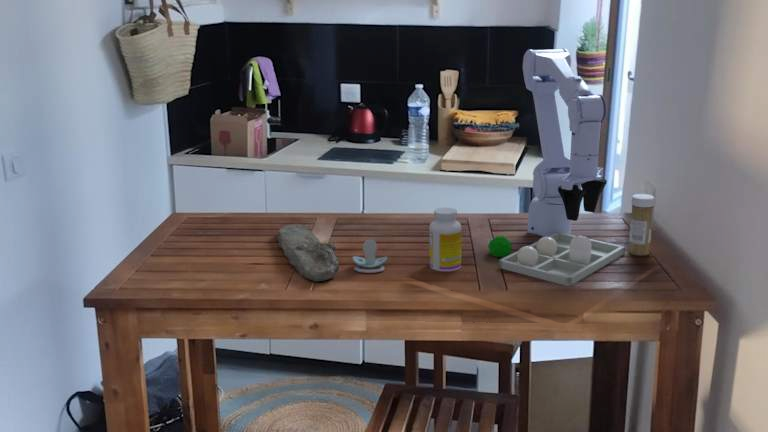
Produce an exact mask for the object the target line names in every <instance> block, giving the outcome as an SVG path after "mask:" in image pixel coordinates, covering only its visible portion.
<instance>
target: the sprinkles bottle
mask: <svg viewBox="0 0 768 432" xmlns="http://www.w3.org/2000/svg"><path fill="white" fill-rule="evenodd" d="M654 206H655V197H654V195H651V194H648V193H636V194H633V195H632V196H631V216H630V225H629V226H630V227H629V240H628V241H629V242H628V243H629V244H628V253H629V254H631V255H633V256H648V255H649V254H650V250H651V249H650V248H651V247H650V246H651V241H652V223H653V210H654V209H653V208H654Z"/></svg>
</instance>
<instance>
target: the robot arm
mask: <svg viewBox="0 0 768 432" xmlns="http://www.w3.org/2000/svg"><path fill="white" fill-rule="evenodd" d="M571 67H572V58H571V54H570V52H569V50H568V49H567V48H560V49H559V48H558V49H553V48H552V49H527V50H526V51H525V53H524V55H523V59H522V72H523V78H524V79H523V80H524V83H525V88H526V89H527V90H528V91H530V92H532V97H533V103H534V108H535V115H536V121H537V129H538V135H539V141H540V147H541V155H542V160H541V162H539V163H538V164H537V165H536V166H534V169H533V171H532V176H533V181H532V187H533V188H532V189H533V193H534V196H535V197H533V198H532V200H531V201H530V203H529V206H528V214H527V215H528V217H527V218H528V220H527V233H529V234H533V235H538V236H541V237H542V238H543V237H548V236H550V235H552V234H554V233H556V232H560V233H565V234H569V235H571V232H572V231H571V228H572V221H575V222H576V221H578V219H579V216H580V215H579V214H580V212H581V211H580V209H581V204H583V205H582V206H583V210H584V212H587V213H592V214H593V213H595V211H596V208H597V205H598V201H599V198H600V196H601V193H602V192H603V190H604V189H605V187H606V185H607V182H608V181H607V180H608V179H606V178H604V167H600V166H599V154H600V139H601V125H602V124H603V122H605V121H606V118H607V111H608V106H607V102H606V99H605V97H604V95H603V94H600V93H599V94H597V93H593V91H592V90H591V89H590V87H589V86H588V84H587V82H585V80H584V79H583V78H582V77H581V76H580V75H578V76H577V75H575V74H574V72H573V70H572V68H571ZM557 91H558V93H559V96H560V97H561V99H562V100H563V101H564V103H565V105H566V106H567V116H568V121H569V127H568V128H569V131H570V132H571V136H570V137H571V138H570V140H571V141H570V153H569V154H570V155H569V157H570V158H568V157H566V156H565V151H564V145H563V144H564V143H563V138H562V133H561V132H562V131H561V126H560V119H559V114H558V107H557V100H556V95H555V94H556V92H557ZM582 202H583V203H582Z"/></svg>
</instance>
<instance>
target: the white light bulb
mask: <svg viewBox="0 0 768 432" xmlns="http://www.w3.org/2000/svg"><path fill="white" fill-rule="evenodd" d="M574 236H575V237H574V238H573V239H572V240H571V242H570V249H569V261H570V262H574V263H578V264H583V265H589V264H590V263H591V247H592V245H591V241H590V240H589V239H590V238H588V237H587V236H585V235H584V234H583V235H582V234H580V235H579V234H578V235H574Z"/></svg>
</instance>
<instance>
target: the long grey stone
mask: <svg viewBox="0 0 768 432" xmlns="http://www.w3.org/2000/svg"><path fill="white" fill-rule="evenodd" d="M276 240H277V241H278V244H277V245H278V247H279V248H281V249H282V250H283V254H284V257H285V258H287V259H288V263H289V264H290V265H291V266H293V267H294V268H295V270H296V271H297V272H298V274H299V275H301V277H304V278H305V279H306V280H307V279H308V280H310V281H313V282H321V281H326V280H327V281H328V280H330V279H334V278H335V273H338V272H339V270H340V268H339V266H340V265H339V264H340V260H339V258H338V257H337V256H336V253H335V250H336V245H335V243H332V242H321V241H320V239H319V238H318V237H317V236H316V235H315V233H313V232H312V231H310V230H309V229H308V228H307V227H306V225H302V224H299V223H293V224H291V223H289V224H287V225H283V226H281V227H280V228H279V229H278V231H277V235H276Z"/></svg>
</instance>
